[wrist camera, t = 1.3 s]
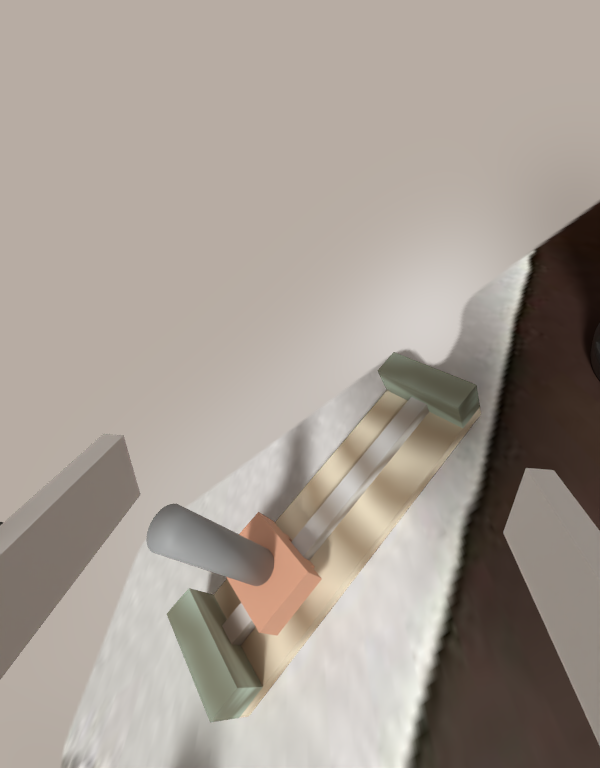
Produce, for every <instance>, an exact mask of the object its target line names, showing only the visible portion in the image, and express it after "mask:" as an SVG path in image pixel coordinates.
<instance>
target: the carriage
mask: <svg viewBox="0 0 600 768" xmlns="http://www.w3.org/2000/svg"><path fill="white" fill-rule="evenodd" d="M291 542H292V539H291V538H290V537H289V536H288V535H286V534H285V533H283V532H282V531H281V530H280V528H279V527H278V526H277V525H276V524H275V522H274V521H272V520H271V519H269V518H268V517H266V516H264V515H263V514H261V513H259V512H258V513H257V514H256V515H255V517H254V518H253V519H252V520H251V521H250V522H249V524H248V525H247V526H246V527H245V528H244V529H243V530H242V532H241V533H240V534H237V533H235V532H233V531H231V530H229V529H227V528H225V527H223V526H221V525H219V524H217V523H215V522H213V521H211V520H209V519H206V518H204V517H202V516H200V515H198V514H196V513H194V512H192V511H190V510H188V509H186V508H184V507H182V506H180V505H178V504H170V505H167V506H166V507H164V508H162V509H161V510H160V511H159V512H158V514H156V516H155V517H154V518H153V520H152V522H151V524H150V526H149V529H148V532H147V545H148V548H149V549H150V551H152V552H153V553H156V554H159V555H162V556H165V557H168V558H171V559H174V560H177V561H180V562H183V563H186V564H189V565H192V566H195V567H198V568H201V569H204V570H207V571H210V572H213V573H216V574H219V575H223V576H226V578H227V579H228V581H229V583H230V585H231V586H232V588H233V590H234V591H235V593H236V595H237V596H238V598H239V600H240V601H241V603H242V605H243V606H244V608H245V610H246V611H247V613H248V615H249V616H250V618H251V620H252V621H253V623H254V625H255V626H256V628H257V630H258V631H259V633H264V634H270V635H276V636H277V635H278V634H279V633H280V631H281V630H282V629H283V628H284V626H285V625H286V624H287V623H288V621H289V620H290V619H291V618H292V616H293V615H294V614H295V612H296V611H297V610H298V609H299V607H300V606H301V605H302V604H303V602H304V601H305V600H306V599H307V597H308V596H309V595H310V593H311V592H312V591H313V590H314V588H315V587H316V586H317V585H318V583H319V582H320V581H321V580H322V578H321V577H320V576H319V575H318V573H317V572H316V571H315V570H314V567H315V566H314V565H313V564H312V563H311V562H310V561H309V560H307V559H306V558H304V557H303V556H302V554H301V553H300V552H299V551H298V550H297V549H296V547H295V546H294V545H293V544H292V543H291Z"/></svg>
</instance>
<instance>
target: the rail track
mask: <svg viewBox="0 0 600 768" xmlns="http://www.w3.org/2000/svg"><path fill="white" fill-rule="evenodd" d="M378 372H379V375H380V377H381V379H382V381H383V383H384V385H385V387H386V389H387V391H386V392H385V393H384V394H383V396H382V397H381V398H380V399H379V400H378V402H377V403H376V404H375V405H374V406H373V407H372V409H371V410H370V411H369V412H368V413H367V415H366V416H365V417H364V418H363V419H362V420H361V422H360V423H359V424H358V425H357V426H356V427H355V429H354V430H353V431H352V432H351V433H350V435H349V436H348V437H347V438H346V439H345V440H344V442H343V443H342V444H341V445H340V446H339V448H338V449H337V450H336V451H335V452H334V453H333V455H332V456H331V457H330V458H329V459H328V460H327V462H326V463H325V464H324V465H323V466H322V468H321V469H320V470H319V471H318V472H317V473H316V475H315V476H314V477H313V478H312V479H311V481H310V482H309V483H308V484H307V485H306V486H305V488H304V489H303V490H302V491H301V492H300V493H299V495H298V496H297V497H296V498H295V499H294V501H293V502H292V503H291V504H290V505H289V506H288V508H287V509H286V510H285V511H284V512H283V514H282V515H281V516H280V517H279V518H278V519H277V521H276V522H275V524H276V525H277V526H278V527H279V528H280V530H281V531H282V532H283V533H285V534H286V535H288V536H289V537H290V538H291V539H292V542H291V543H292V544H293V545H294V546H295V547H296V549H297V550H298V551H299V552H300V553H301V554H302V556H303V557H304V558H306V559H307V560H309V561H310V562H311V563H312V564H313V565H314V566H315V567H314V570H315V571H316V572H317V573H318V575H319V576H320V577H321V578H322V580H321V581H320V582H319V583H318V585H317V586H316V587H315V588H314V590H313V591H312V592H311V593H310V595H309V596H308V597H307V599H306V600H305V601H304V602H303V604H302V605H301V606H300V607H299V609H298V610H297V611H296V612H295V614H294V615H293V616H292V618H291V619H290V620H289V621H288V623H287V624H286V625H285V626H284V628H283V629H282V630H281V631H280V633H279V634H278V635H277V636H276V635H270V634H264V633H259V631H258V630H257V628H256V626H255V625H254V623H253V621H252V620H251V618H250V616H249V615H248V613H247V611H246V610H245V608H244V606H243V605H242V603H241V601H240V600H239V598H238V596H237V595H236V593H235V591H234V590H233V588H232V586H231V585H230V583H229V581H228V579H226V581H225V582H224V583H223V584H222V585H221V587H220V588H219V589H218V590H217V591H216V592H215V594H214V595H213V594H209V593H205V592H201V591H197V590H193V589H188V590H187V591H186V592H185V593H184V595H183V596H182V597H181V598H180V599H179V600H178V601H177V603H176V604H175V605H174V606H173V607H172V608H171V610H170V611H169V612H168V613H167V616H168V618H169V621H170V623H171V626H172V628H173V631H174V633H175V636H176V638H177V641H178V643H179V646H180V648H181V651H182V653H183V656H184V658H185V661H186V663H187V666H188V668H189V671H190V673H191V676H192V678H193V681H194V683H195V686H196V688H197V691H198V693H199V696H200V698H201V701H202V703H203V706H204V708H205V710H206V713H207V715H208V718H209V720H210V722H215V721H222V720H228V719H235V718H242V717H248V716H249V715H250V714H251V713H252V711H253V710H254V709H255V708H256V706H257V705H258V704H259V702H260V701H261V700H262V698H263V697H264V696H265V695H266V693H267V692H268V691H269V689H270V688H271V687H272V685H273V684H274V683H275V682H276V680H277V679H278V678H279V676H280V675H281V674H282V672H283V671H284V670H285V669H286V667H287V666H288V665H289V663H290V662H291V661H292V659H293V658H294V657H295V656H296V654H297V653H298V652H299V650H300V649H301V648H302V646H303V645H304V644H305V643H306V641H307V640H308V639H309V637H310V636H311V635H312V633H313V632H314V631H315V630H316V628H317V627H318V626H319V624H320V623H321V622H322V620H323V619H324V618H325V617H326V615H327V614H328V613H329V611H330V610H331V609H332V607H333V606H334V605H335V604H336V602H337V601H338V600H339V598H340V597H341V596H342V594H343V593H344V592H345V591H346V589H347V588H348V587H349V585H350V584H351V583H352V581H353V580H354V579H355V578H356V576H357V575H358V574H359V572H360V571H361V570H362V568H363V567H364V566H365V565H366V563H367V562H368V561H369V559H370V558H371V557H372V555H373V554H374V553H375V552H376V550H377V549H378V548H379V546H380V545H381V544H382V542H383V541H384V540H385V539H386V537H387V536H388V535H389V533H390V532H391V531H392V529H393V528H394V527H395V526H396V524H397V523H398V522H399V520H400V519H401V518H402V516H403V515H404V514H405V513H406V511H407V510H408V509H409V507H410V506H411V505H412V503H413V502H414V501H415V500H416V498H417V497H418V496H419V494H420V493H421V492H422V490H423V489H424V488H425V487H426V485H427V484H428V483H429V481H430V480H431V479H432V477H433V476H434V475H435V474H436V472H437V471H438V470H439V468H440V467H441V466H442V464H443V463H444V462H445V460H446V459H447V458H448V457H449V455H450V454H451V453H452V451H453V450H454V449H455V447H456V446H457V445H458V444H459V442H460V441H461V440H462V438H463V437H464V436H465V434H466V433H467V432H468V431H469V429H470V428H471V427H472V425H473V424H474V423H475V421H476V420H477V419H478V418H479V416H480V415H481V411H480V405H479V399H478V392H477V386H476V385H475V384H473V383H470V382H468V381H465V380H463V379H460V378H458V377H455V376H453V375H450V374H448V373H445V372H443V371H440V370H438V369H435V368H433V367H430V366H428V365H425V364H422V363H420V362H417V361H415V360H412V359H410V358H407V357H405V356H402V355H400V354H397V353H395V352H394V353H393V354H392V355H391V356H390V357H389V358H388V359H387V361H386V362H385V363H384V364H383V365H382V366H381V367H380V369H379V370H378Z"/></svg>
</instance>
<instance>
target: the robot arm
mask: <svg viewBox="0 0 600 768" xmlns="http://www.w3.org/2000/svg"><path fill="white" fill-rule="evenodd" d="M590 357H591V364H592V367H593V370H594V372H595V374H596V376H597V377H598V379H599V380H600V322H599V324H598V326H597V328H596V331H595V333H594V337H593V342H592V347H591V353H590ZM139 496H140V492H139V488H138V485H137V482H136V478H135V475H134V471H133V467H132V464H131V460H130V457H129V453H128V450H127V446H126V443H125V439H124V436H123V435H111V434H103V435H102V436H101V437H99V438H98V439H97V440H96V441H95V442H94V443H93V444H92V445H90V446H89V447H88V448H87V449H86V450H85V451H84V452H83V453H81V454H80V455H79V456H78V457H77V458H76V459H75V460H74V461H72V462H71V463H70V464H69V465H68V466H67V467H66V468H65V469H63V470H62V471H61V472H60V473H59V474H58V475H57V476H56V477H54V478H53V479H52V480H51V481H50V482H49V483H48V484H47V485H46V486H44V487H43V488H42V489H41V490H40V491H39V492H38V493H37V494H35V495H34V496H33V497H32V498H31V499H30V500H29V501H28V502H26V503H25V504H24V505H23V506H22V507H21V508H20V509H18V510H17V511H16V512H15V513H14V514H13V515H12V516H11V517H9V518H8V519H7V520H6V521H5V522H4V523H3V522H0V679H1V678H2V677H3V675H4V674H5V673H6V671H7V670H8V669H9V667H10V666H11V665H12V664H13V662H14V661H15V660H16V658H17V657H18V656H19V654H20V653H21V652H22V650H23V649H24V648H25V646H26V645H27V644H28V642H29V641H30V640H31V638H32V637H33V636H34V634H35V633H36V632H37V631H38V629H39V628H40V627H41V625H42V624H43V623H44V621H45V620H46V618H47V617H48V616H49V615H50V613H51V612H52V611H53V609H54V608H55V607H56V605H57V604H58V603H59V601H60V600H61V599H62V597H63V596H64V595H65V593H66V592H67V591H68V590H69V588H70V587H71V586H72V584H73V583H74V582H75V580H76V579H77V578H78V576H79V575H80V574H81V572H82V571H83V570H84V568H85V567H86V566H87V564H88V563H89V562H90V561H91V559H92V558H93V557H94V555H95V554H96V553H97V551H98V550H99V549H100V547H101V546H102V545H103V543H104V542H105V541H106V539H107V538H108V537H109V535H110V534H111V533H112V531H113V530H114V529H115V527H116V526H117V525H118V524H119V522H120V521H121V520H122V518H123V517H124V516H125V514H126V513H127V512H128V510H129V509H130V508H131V506H132V505H133V504H134V502H135V501H136V500H137V498H138V497H139ZM503 533H504V535H505V538H506V540H507V542H508V544H509V547H510V549H511V551H512V553H513V555H514V558H515V560H516V562H517V564H518V566H519V569H520V571H521V573H522V575H523V577H524V580H525V582H526V584H527V586H528V589H529V591H530V593H531V595H532V597H533V600H534V602H535V604H536V606H537V608H538V611H539V613H540V615H541V617H542V620H543V622H544V624H545V626H546V628H547V631H548V633H549V635H550V637H551V639H552V642H553V644H554V646H555V648H556V650H557V653H558V655H559V657H560V659H561V662H562V664H563V666H564V668H565V670H566V673H567V675H568V677H569V679H570V681H571V684H572V686H573V688H574V690H575V693H576V695H577V697H578V699H579V701H580V704H581V706H582V708H583V710H584V712H585V715H586V717H587V719H588V721H589V724H590V726H591V728H592V730H593V732H594V735H595V737H596V739H597V741H598V743H599V746H600V531H599V530H598V528H597V527H596V526H595V524H594V523H593V522H592V520H591V519H590V518H589V516H588V515H587V514H586V512H585V511H584V510H583V508H582V507H581V506H580V504H579V503H578V502H577V500H576V499H575V498H574V496H573V495H572V494H571V492H570V491H569V490H568V489H567V487H566V486H565V485H564V483H563V482H562V481H561V479H560V478H559V477H558V475H557V474H556V473H555V471H554V470H545V469H533V468H526V469H525V472H524V475H523V478H522V481H521V484H520V486H519V489H518V492H517V495H516V498H515V501H514V503H513V506H512V509H511V512H510V515H509V518H508V520H507V523H506V526H505V529H504V532H503Z"/></svg>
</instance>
